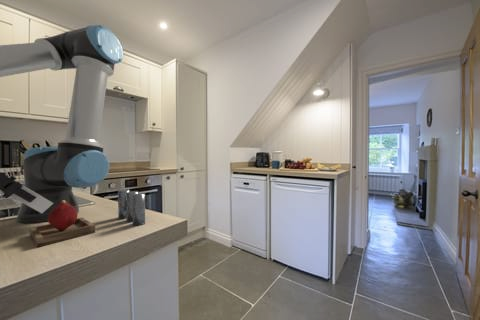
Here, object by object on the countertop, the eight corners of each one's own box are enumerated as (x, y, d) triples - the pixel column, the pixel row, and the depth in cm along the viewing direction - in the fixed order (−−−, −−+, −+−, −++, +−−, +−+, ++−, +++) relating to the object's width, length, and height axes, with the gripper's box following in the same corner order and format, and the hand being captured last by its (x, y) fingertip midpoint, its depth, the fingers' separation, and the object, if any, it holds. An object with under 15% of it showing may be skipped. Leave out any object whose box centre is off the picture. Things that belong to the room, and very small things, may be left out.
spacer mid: (124, 220, 64) (124, 192, 64) (135, 217, 67) (135, 190, 66) (129, 222, 62) (129, 193, 62) (140, 219, 64) (140, 192, 64)
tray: (29, 235, 52) (29, 227, 52) (82, 223, 61) (82, 217, 60) (37, 247, 45) (37, 238, 45) (95, 232, 54) (95, 225, 54)
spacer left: (116, 217, 66) (116, 190, 66) (127, 215, 69) (127, 189, 69) (120, 219, 64) (120, 192, 64) (131, 217, 67) (131, 190, 67)
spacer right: (130, 224, 60) (130, 194, 60) (141, 221, 63) (141, 192, 63) (135, 226, 58) (135, 195, 58) (147, 223, 61) (147, 194, 61)
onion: (82, 228, 55) (83, 199, 56) (61, 235, 50) (63, 203, 50) (63, 226, 56) (64, 197, 56) (40, 233, 50) (42, 201, 50)
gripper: (-89, 152, 42) (18, 208, 55) (-120, 151, 27) (36, 228, 40) (-46, 130, 47) (44, 187, 59) (-53, 118, 32) (69, 197, 44)
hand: (41, 203), depth 49 cm, fingers open, 13 cm apart
